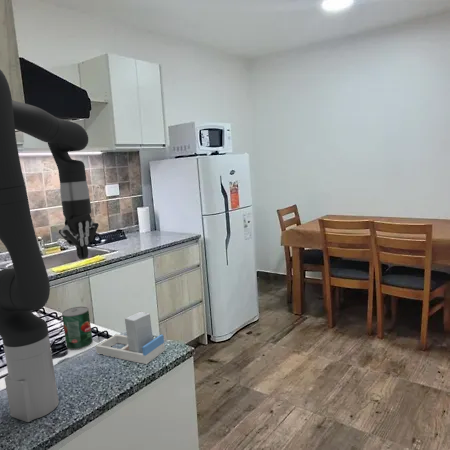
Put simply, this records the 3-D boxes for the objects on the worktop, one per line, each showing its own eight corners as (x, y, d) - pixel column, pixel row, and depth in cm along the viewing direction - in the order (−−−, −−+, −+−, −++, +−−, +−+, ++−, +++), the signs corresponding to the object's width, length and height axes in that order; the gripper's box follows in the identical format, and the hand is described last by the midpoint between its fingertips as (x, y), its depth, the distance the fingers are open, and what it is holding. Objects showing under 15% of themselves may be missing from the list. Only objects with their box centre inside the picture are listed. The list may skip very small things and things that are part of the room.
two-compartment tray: (146, 364, 109) (144, 347, 108) (96, 353, 118) (94, 338, 117) (164, 350, 117) (163, 334, 116) (117, 341, 125) (115, 326, 125)
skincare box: (144, 349, 119) (140, 310, 117) (154, 352, 116) (150, 313, 114) (128, 357, 114) (124, 318, 112) (138, 361, 111) (134, 320, 109)
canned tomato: (95, 344, 124) (90, 311, 123) (68, 352, 120) (63, 317, 119) (89, 336, 131) (85, 304, 129) (64, 343, 127) (59, 310, 126)
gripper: (65, 200, 104) (74, 264, 107) (102, 195, 116) (109, 253, 118) (46, 201, 108) (55, 263, 110) (84, 196, 119) (91, 252, 122)
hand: (83, 258), depth 114 cm, fingers closed
